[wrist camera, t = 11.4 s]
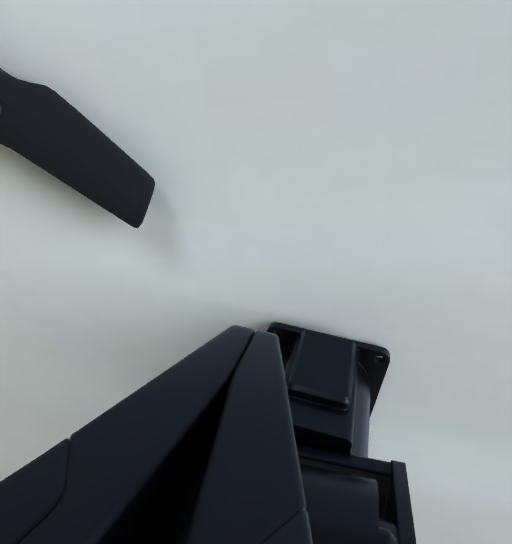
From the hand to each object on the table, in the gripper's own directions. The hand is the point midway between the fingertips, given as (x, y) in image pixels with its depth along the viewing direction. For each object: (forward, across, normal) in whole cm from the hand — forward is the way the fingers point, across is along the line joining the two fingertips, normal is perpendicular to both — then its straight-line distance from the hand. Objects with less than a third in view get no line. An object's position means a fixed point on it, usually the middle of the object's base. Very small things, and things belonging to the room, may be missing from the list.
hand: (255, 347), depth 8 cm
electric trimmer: (+12, +15, -1) cm, 19 cm away
